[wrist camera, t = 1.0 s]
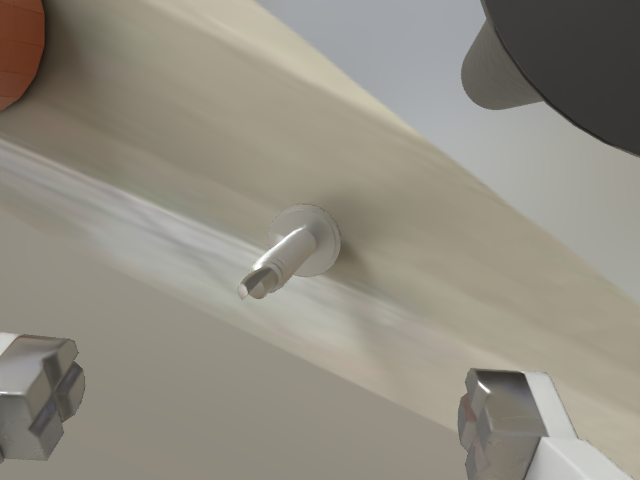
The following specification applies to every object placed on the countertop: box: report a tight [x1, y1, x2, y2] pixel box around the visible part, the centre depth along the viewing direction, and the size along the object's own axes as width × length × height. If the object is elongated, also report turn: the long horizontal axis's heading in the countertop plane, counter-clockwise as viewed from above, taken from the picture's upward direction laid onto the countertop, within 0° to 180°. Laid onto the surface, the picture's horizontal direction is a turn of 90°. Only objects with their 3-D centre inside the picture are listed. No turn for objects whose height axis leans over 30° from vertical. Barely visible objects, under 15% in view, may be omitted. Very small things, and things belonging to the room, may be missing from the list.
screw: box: [238, 204, 341, 300], centre depth 29 cm, size 13×5×5 cm
